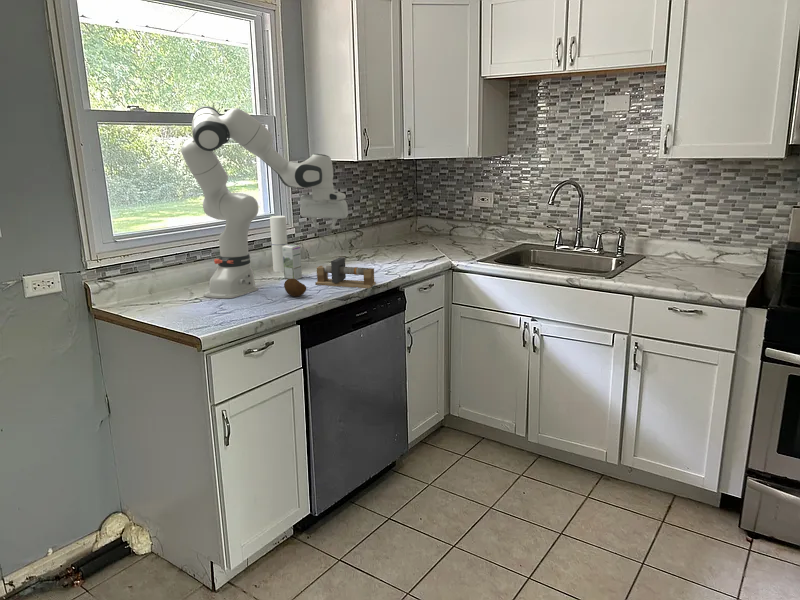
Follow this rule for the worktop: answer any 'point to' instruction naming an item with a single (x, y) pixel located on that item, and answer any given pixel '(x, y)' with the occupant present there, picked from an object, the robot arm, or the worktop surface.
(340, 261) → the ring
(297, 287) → the potato
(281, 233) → the cylindrical container
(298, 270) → the syrup box
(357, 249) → the worktop surface
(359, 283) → the pipe rig
